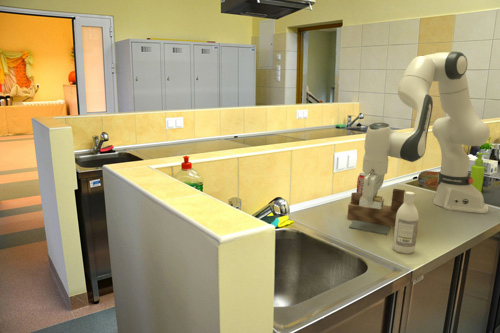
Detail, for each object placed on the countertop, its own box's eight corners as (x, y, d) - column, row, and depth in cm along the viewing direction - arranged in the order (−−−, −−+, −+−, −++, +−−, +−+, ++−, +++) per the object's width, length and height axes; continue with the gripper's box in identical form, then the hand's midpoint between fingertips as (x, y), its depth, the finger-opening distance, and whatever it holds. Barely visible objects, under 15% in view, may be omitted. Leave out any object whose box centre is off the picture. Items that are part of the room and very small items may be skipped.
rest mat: (390, 228, 156) (390, 226, 156) (386, 235, 149) (387, 233, 149) (353, 221, 162) (353, 220, 162) (348, 228, 155) (348, 226, 155)
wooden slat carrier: (401, 222, 162) (405, 188, 159) (399, 228, 156) (403, 193, 153) (351, 213, 171) (354, 181, 168) (347, 218, 165) (349, 185, 161)
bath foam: (418, 254, 134) (425, 195, 129) (397, 254, 134) (404, 195, 129) (409, 245, 141) (415, 189, 136) (389, 245, 140) (395, 189, 136)
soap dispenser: (485, 193, 202) (491, 154, 198) (470, 193, 203) (476, 153, 199) (480, 190, 208) (486, 152, 203) (466, 189, 209) (471, 151, 204)
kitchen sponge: (383, 205, 154) (384, 196, 153) (381, 209, 150) (381, 199, 149) (362, 201, 157) (362, 192, 157) (359, 205, 153) (359, 196, 152)
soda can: (372, 201, 187) (374, 176, 184) (356, 200, 188) (358, 175, 186) (370, 197, 194) (373, 172, 191) (355, 196, 195) (357, 171, 192)
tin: (417, 186, 214) (419, 170, 212) (416, 184, 217) (418, 169, 215) (448, 189, 210) (450, 173, 208) (447, 187, 213) (449, 171, 211)
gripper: (378, 174, 140) (374, 212, 143) (388, 163, 157) (384, 197, 161) (359, 172, 142) (356, 209, 146) (371, 161, 160) (368, 195, 163)
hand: (371, 203), depth 153 cm, fingers closed on kitchen sponge, 5 cm apart
